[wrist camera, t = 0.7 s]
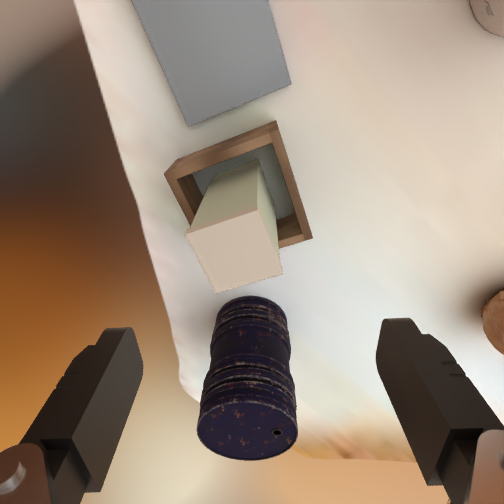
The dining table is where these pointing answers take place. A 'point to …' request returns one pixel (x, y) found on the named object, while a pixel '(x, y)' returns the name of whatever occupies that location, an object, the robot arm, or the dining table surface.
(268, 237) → the tea tin
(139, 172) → the dining table surface
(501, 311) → the onion
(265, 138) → the crate
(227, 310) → the dark blue cylinder
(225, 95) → the blue-grey square panel
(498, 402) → the dining table surface
